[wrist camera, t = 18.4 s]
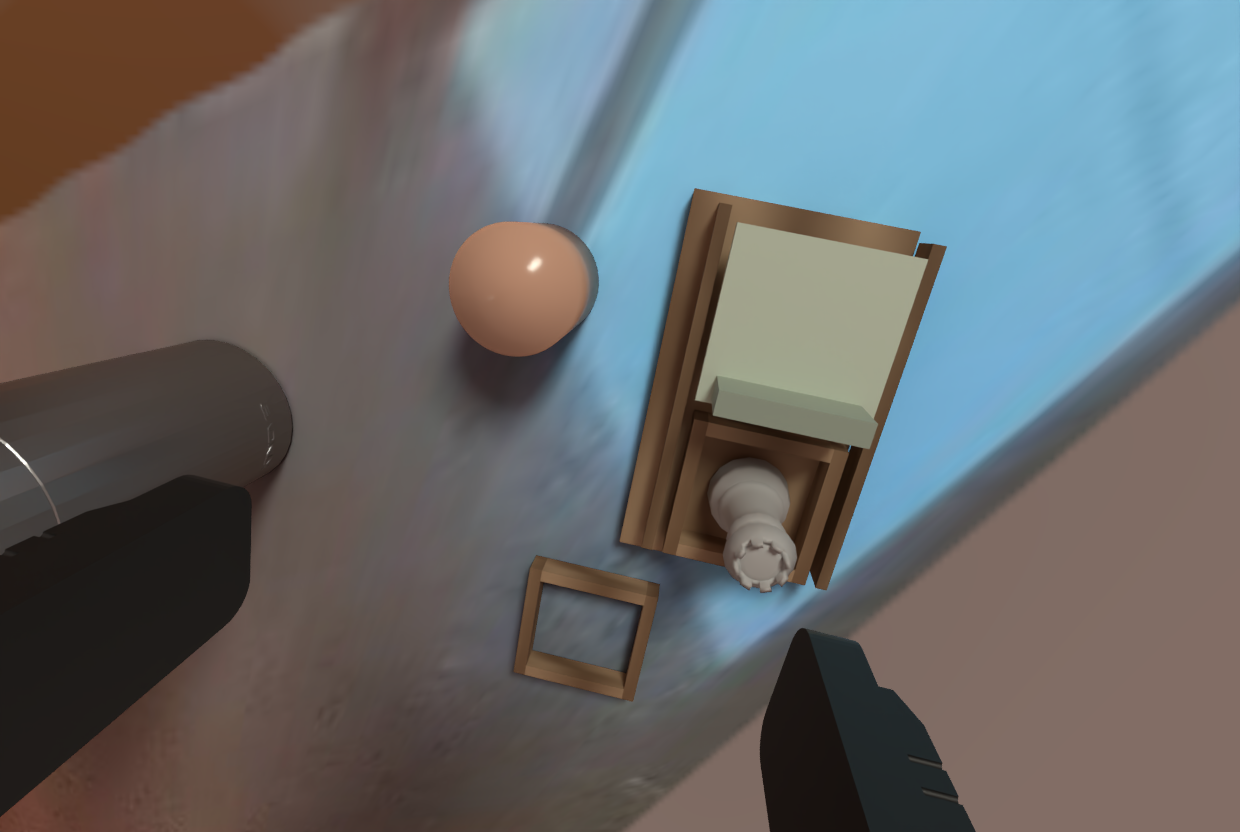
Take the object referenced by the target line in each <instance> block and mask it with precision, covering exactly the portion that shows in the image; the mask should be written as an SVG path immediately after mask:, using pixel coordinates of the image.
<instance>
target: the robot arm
mask: <svg viewBox="0 0 1240 832" xmlns="http://www.w3.org/2000/svg"><path fill="white" fill-rule="evenodd" d="M291 435H292V420H291V412H290V409H289V406H288V402H287V399H286V397H285V395H284V393H283V391H282V389H281V387H280V385H279V383H278V382H277V381H276V379H275V378H274V377H273V375H272V374H271V373H270V371H269V370H268V369H267V368H266V367H265V366H264V365H263V364H262V363H261V362H260V361H258V360H257V359H256V358H255V357H253V356H252V355H250V354H249V353H247V352H246V351H244V350H243V349H240V348H238V347H236V346H233V345H231V344H229V343H225V342H220V341H215V340H197V341H193V342H188V343H183V344H179V345H174V346H170V347H165V348H160V349H156V350H151V351H147V352H142V353H136V354H132V355H127V356H122V357H118V358H113V359H109V360H104V361H100V362H95V363H90V364H86V365H81V366H77V367H72V368H68V369H63V370H59V371H54V372H49V373H45V374H40V375H36V376H31V377H27V378H22V379H17V380H13V381H8V382H4V383H0V817H1V816H2V815H3V814H4V813H5V812H7V811H8V810H9V809H10V808H11V807H12V806H14V805H15V804H16V803H17V802H18V801H19V800H21V799H22V798H23V797H24V796H25V795H27V794H28V793H29V792H30V791H31V790H32V789H34V788H35V787H36V786H37V785H38V784H39V783H41V782H42V781H43V780H44V779H45V778H47V777H48V776H49V775H50V774H51V773H52V772H54V771H55V770H56V769H57V768H58V767H59V766H61V765H62V764H63V763H64V762H65V761H67V760H68V759H69V758H70V757H71V756H72V755H74V754H75V753H76V752H77V751H78V750H79V749H81V748H82V747H83V746H84V745H85V744H87V743H88V742H89V741H90V740H91V739H92V738H94V737H95V736H96V735H97V734H98V733H99V732H101V731H102V730H103V729H104V728H105V727H107V726H108V725H109V724H110V723H111V722H112V721H114V720H115V719H116V718H117V717H118V716H119V715H121V714H122V713H123V712H124V711H125V710H127V709H128V708H129V707H130V706H131V705H132V704H134V703H135V702H136V701H137V700H138V699H139V698H141V697H142V696H143V695H144V694H145V693H147V692H148V691H149V690H150V689H151V688H152V687H154V686H155V685H156V684H157V683H158V682H159V681H161V680H162V679H163V678H164V677H165V676H167V675H168V674H169V673H170V672H171V671H172V670H174V669H175V668H176V667H177V666H178V665H179V664H181V663H182V662H183V661H184V660H185V659H187V658H188V657H189V656H190V655H191V654H192V653H194V652H195V651H196V650H197V649H198V648H199V647H201V646H202V645H203V644H204V643H205V642H207V641H208V640H209V639H210V638H211V637H212V636H214V635H215V634H216V633H217V632H218V631H219V630H221V629H222V628H223V627H224V626H225V625H226V624H227V623H228V622H230V620H231V619H232V618H233V617H234V616H235V614H236V613H237V612H238V610H239V608H240V607H241V605H242V603H243V601H244V599H245V596H246V594H247V591H248V588H249V583H250V554H251V508H252V506H251V498H250V495H249V493H248V491H247V490H246V489H244V488H243V487H244V486H246V485H248V484H250V483H252V482H253V481H255V480H257V479H259V478H260V477H262V476H264V475H266V474H267V473H269V472H270V471H272V470H273V469H274V468H275V467H276V466H278V465H279V464H280V462H281V461H282V459H283V458H284V456H285V455H286V453H287V450H288V448H289V445H290V442H291ZM760 763H761V770H762V778H763V785H764V792H765V799H766V806H767V813H768V820H769V827H770V832H975V829H974V827H973V825H972V823H971V821H970V819H969V817H968V815H967V813H966V811H965V809H964V807H963V805H960V804H958V795H957V792H956V790H955V788H954V786H953V784H952V782H951V780H950V778H949V776H948V774H947V772H946V771H944V770H942V761H941V759H940V758H939V755H938V753H937V751H936V749H935V747H934V745H933V743H932V741H931V739H930V737H929V735H928V733H927V731H926V729H925V726H924V725H923V724H922V722H921V721H920V720H919V719H918V718H917V717H916V716H915V714H914V713H913V712H912V711H911V710H910V709H909V708H908V706H907V705H906V704H905V703H904V702H903V701H902V700H901V699H900V697H899V696H898V695H897V694H896V693H895V692H894V691H893V690H891V689H887V688H882V687H878V685H877V682H876V680H875V678H874V676H873V673H872V671H871V668H870V666H869V664H868V661H867V659H866V657H865V654H864V652H863V650H862V648H861V646H860V645H859V643H858V642H856V641H853V640H849V639H845V638H841V637H837V636H833V635H829V634H825V633H821V632H817V631H813V630H809V629H805V628H801V629H799V630H798V631H797V633H796V634H795V636H794V638H793V640H792V642H791V645H790V648H789V650H788V653H787V656H786V658H785V661H784V664H783V667H782V669H781V672H780V675H779V677H778V680H777V683H776V686H775V688H774V691H773V694H772V696H771V699H770V702H769V705H768V707H767V710H766V713H765V716H764V720H763V725H762V731H761V740H760Z"/></svg>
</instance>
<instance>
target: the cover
mask: <svg viewBox="0 0 1240 832" xmlns="http://www.w3.org/2000/svg"><path fill="white" fill-rule="evenodd" d="M927 262H928V259H923V258H918V257H913V256H908V255H903V254H898V253H893V252H888V251H882V250H877V249H872V248H867V247H862V246H857V245H852V244H847V243H842V242H837V241H831V240H826V239H821V238H816V237H811V236H806V235H801V234H796V233H791V232H786V231H780V230H775V229H770V228H765V227H760V226H755V225H750V224H745V223H740V222H737V223H736V227H735V231H734V236H733V240H732V244H731V248H730V252H729V257H728V261H727V265H726V269H725V273H724V278H723V282H722V286H721V290H720V294H719V299H718V303H717V307H716V311H715V315H714V320H713V324H712V328H711V332H710V336H709V341H708V345H707V349H706V353H705V357H704V362H703V366H702V370H701V374H700V378H699V383H698V387H697V391H696V395H695V400H697V401H702V402H706V403H711V404H712V413H713V416H718V417H722V418H727V419H732V420H736V421H741V422H746V423H750V424H755V425H759V426H764V427H769V428H773V429H778V430H783V431H787V432H792V433H796V434H801V435H806V436H810V437H815V438H819V439H824V440H829V441H833V442H838V443H843V444H847V445H852V446H856V447H861V448H866V449H870V446H871V443H872V440H873V438H874V435H875V432H876V429H877V426H878V423H877V422H876V421H875V420H874V417H875V414H876V411H877V408H878V405H879V402H880V399H881V396H882V393H883V390H884V387H885V384H886V382H887V379H888V376H889V373H890V370H891V367H892V364H893V361H894V358H895V355H896V352H897V349H898V347H899V344H900V341H901V338H902V335H903V332H904V329H905V326H906V323H907V320H908V317H909V314H910V312H911V309H912V306H913V303H914V300H915V297H916V294H917V291H918V288H919V285H920V282H921V279H922V277H923V274H924V271H925V268H926V265H927Z"/></svg>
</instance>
